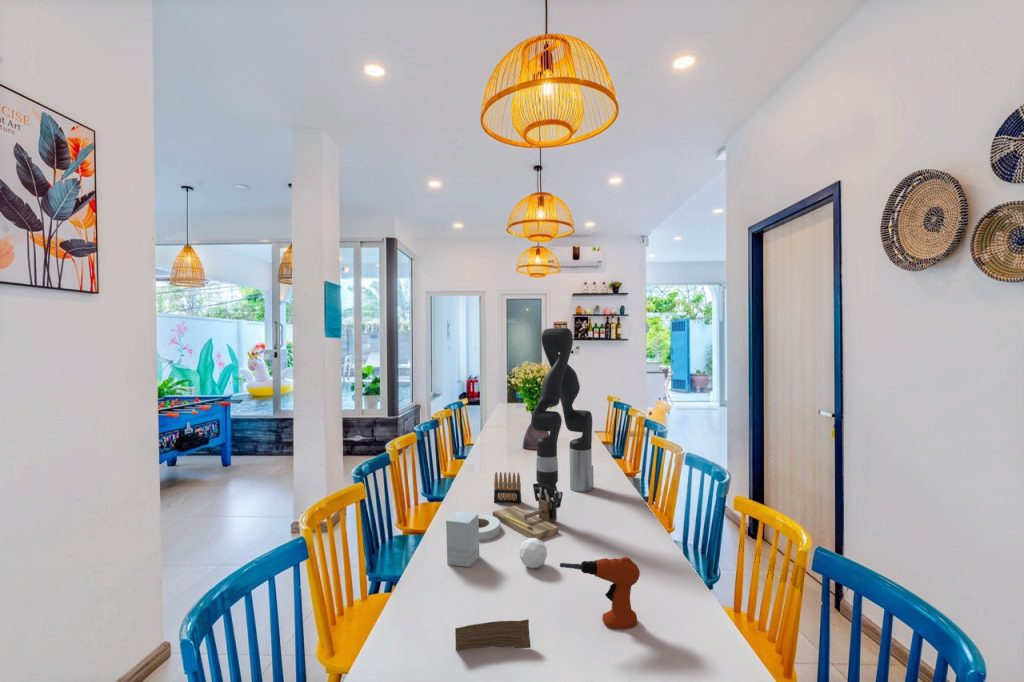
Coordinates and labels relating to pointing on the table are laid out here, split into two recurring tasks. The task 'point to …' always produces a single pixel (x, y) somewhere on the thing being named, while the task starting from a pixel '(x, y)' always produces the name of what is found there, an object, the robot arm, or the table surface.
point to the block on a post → (542, 511)
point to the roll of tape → (488, 526)
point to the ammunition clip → (506, 494)
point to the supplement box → (462, 539)
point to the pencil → (518, 522)
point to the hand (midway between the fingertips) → (547, 516)
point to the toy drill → (614, 587)
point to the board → (538, 524)
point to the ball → (533, 553)
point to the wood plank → (493, 635)
